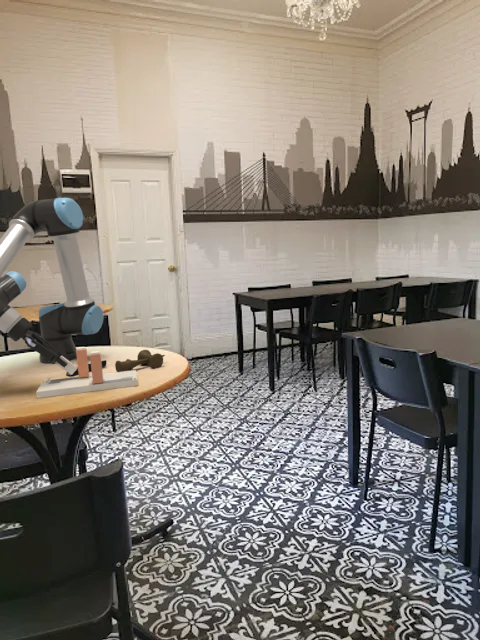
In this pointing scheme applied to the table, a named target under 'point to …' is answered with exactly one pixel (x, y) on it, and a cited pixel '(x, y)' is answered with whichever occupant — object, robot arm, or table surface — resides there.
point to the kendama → (140, 361)
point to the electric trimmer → (88, 367)
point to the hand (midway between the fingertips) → (74, 371)
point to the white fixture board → (86, 384)
